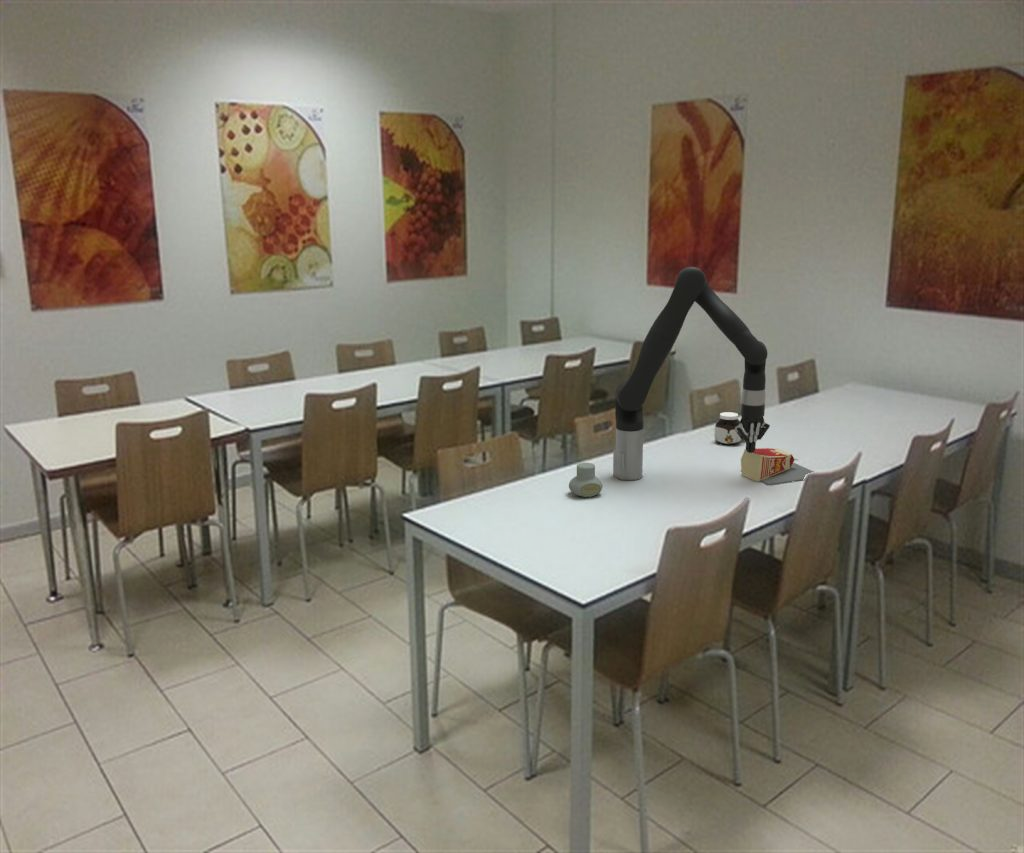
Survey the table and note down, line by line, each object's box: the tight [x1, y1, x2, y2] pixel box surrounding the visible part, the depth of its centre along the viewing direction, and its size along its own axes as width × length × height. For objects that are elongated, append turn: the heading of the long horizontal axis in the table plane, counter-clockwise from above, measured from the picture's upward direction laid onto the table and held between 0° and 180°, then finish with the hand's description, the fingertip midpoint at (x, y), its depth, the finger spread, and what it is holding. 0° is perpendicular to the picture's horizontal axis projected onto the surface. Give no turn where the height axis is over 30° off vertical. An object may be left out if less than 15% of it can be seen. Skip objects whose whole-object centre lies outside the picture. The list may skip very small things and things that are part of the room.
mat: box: [759, 462, 815, 486], centre depth 294 cm, size 22×16×1 cm
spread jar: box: [714, 411, 745, 447], centre depth 331 cm, size 12×11×12 cm
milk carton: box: [740, 447, 798, 483], centre depth 295 cm, size 9×9×20 cm
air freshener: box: [568, 462, 604, 498], centre depth 278 cm, size 11×8×10 cm
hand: (750, 452), depth 288 cm, fingers closed
